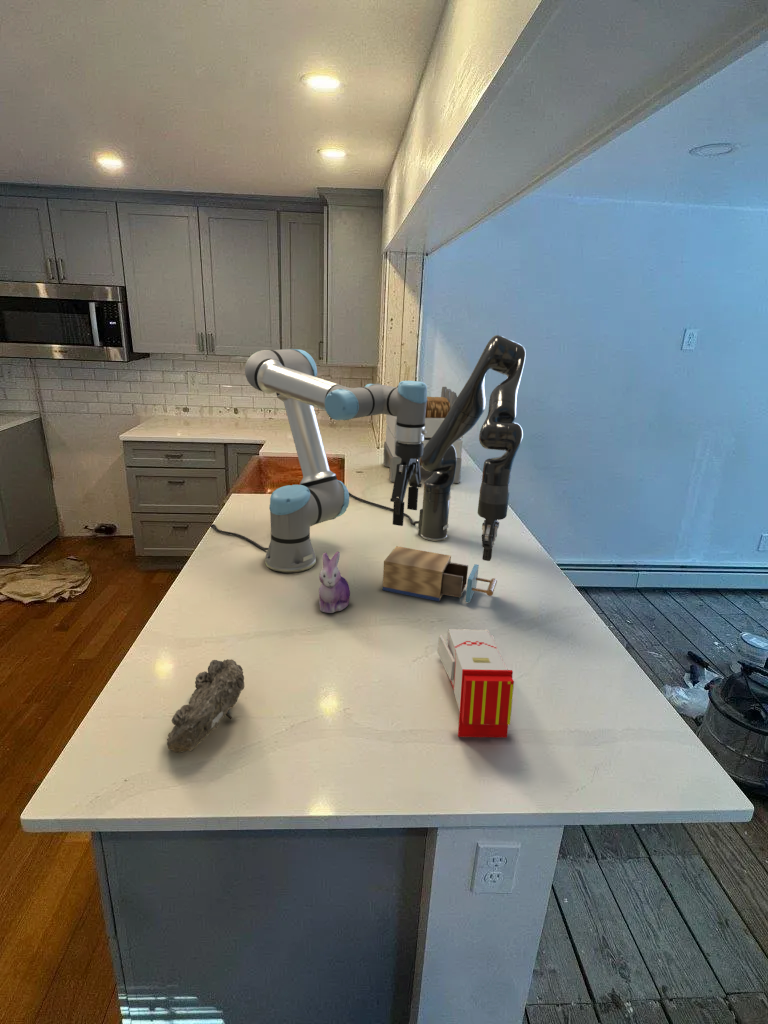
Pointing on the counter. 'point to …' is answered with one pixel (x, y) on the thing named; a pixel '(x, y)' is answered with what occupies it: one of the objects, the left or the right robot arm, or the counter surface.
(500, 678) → the toy
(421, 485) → the left robot arm
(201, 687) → the fossil
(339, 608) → the figurine
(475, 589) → the drawer
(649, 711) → the counter surface
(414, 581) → the cabinet
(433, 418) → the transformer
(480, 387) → the right robot arm
